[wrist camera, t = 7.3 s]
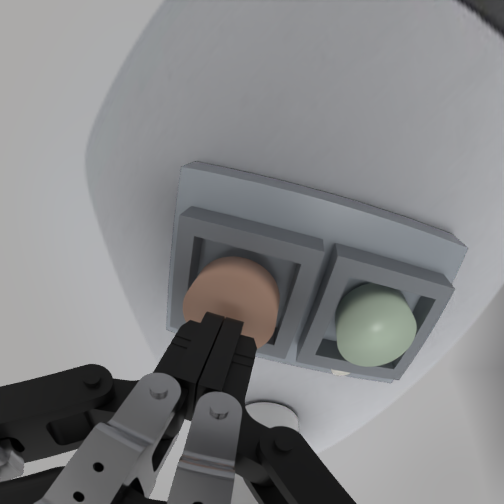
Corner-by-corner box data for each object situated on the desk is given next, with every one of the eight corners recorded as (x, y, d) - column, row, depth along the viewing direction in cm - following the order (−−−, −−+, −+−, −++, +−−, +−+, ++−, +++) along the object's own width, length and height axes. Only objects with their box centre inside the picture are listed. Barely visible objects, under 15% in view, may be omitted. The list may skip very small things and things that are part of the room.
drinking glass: (232, 430, 24) (191, 567, 11) (227, 388, 22) (169, 561, 8) (303, 438, 23) (284, 581, 10) (312, 396, 21) (294, 581, 7)
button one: (350, 274, 14) (356, 293, 12) (419, 292, 13) (430, 311, 12) (324, 336, 15) (325, 359, 14) (387, 349, 15) (393, 371, 13)
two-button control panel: (195, 161, 15) (167, 171, 12) (453, 234, 14) (481, 260, 11) (177, 312, 19) (156, 344, 16) (386, 362, 18) (394, 400, 15)
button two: (201, 246, 13) (186, 264, 11) (289, 269, 13) (287, 291, 11) (192, 316, 15) (180, 338, 13) (268, 337, 14) (263, 362, 13)
